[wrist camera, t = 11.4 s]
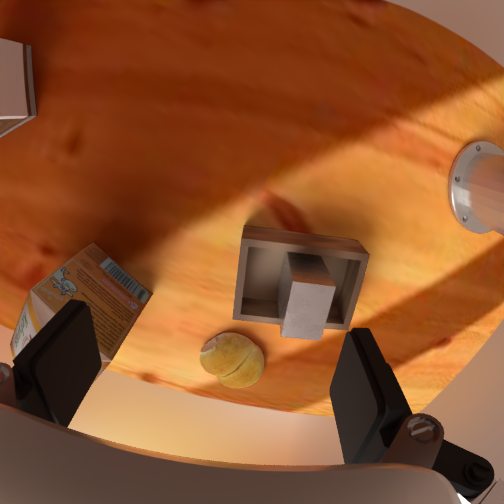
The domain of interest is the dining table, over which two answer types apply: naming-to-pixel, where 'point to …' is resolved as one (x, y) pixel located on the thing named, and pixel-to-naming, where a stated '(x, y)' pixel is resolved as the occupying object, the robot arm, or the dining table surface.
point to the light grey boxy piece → (15, 85)
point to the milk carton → (92, 292)
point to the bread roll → (233, 360)
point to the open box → (270, 264)
